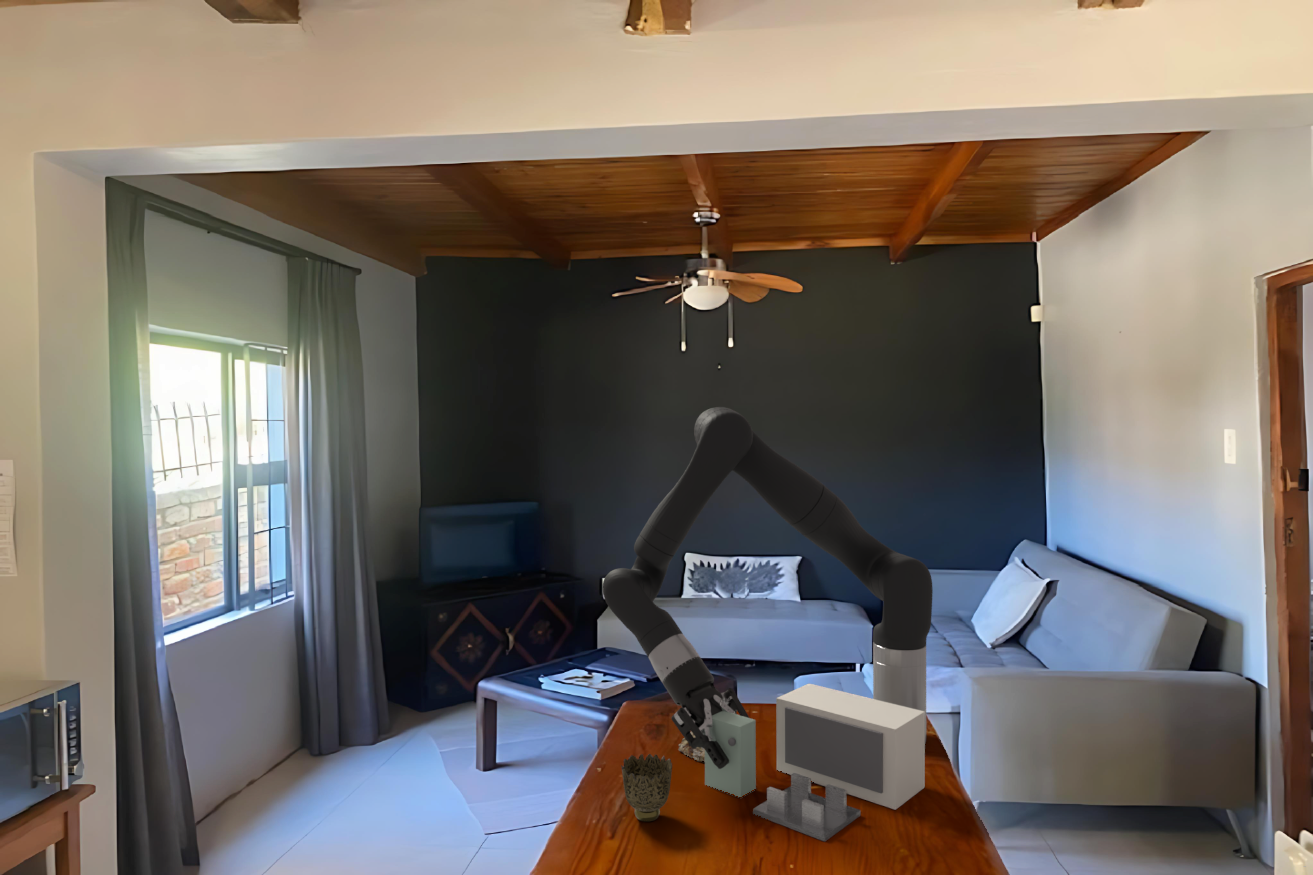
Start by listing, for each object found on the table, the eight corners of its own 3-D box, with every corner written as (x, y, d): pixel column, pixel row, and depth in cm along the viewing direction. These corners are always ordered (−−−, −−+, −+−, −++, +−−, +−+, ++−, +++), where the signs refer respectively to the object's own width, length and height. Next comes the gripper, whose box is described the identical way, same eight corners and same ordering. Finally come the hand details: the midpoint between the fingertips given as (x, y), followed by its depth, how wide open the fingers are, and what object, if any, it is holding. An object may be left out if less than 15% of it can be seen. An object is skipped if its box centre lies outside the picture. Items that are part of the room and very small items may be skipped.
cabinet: (809, 751, 145) (808, 683, 145) (924, 787, 131) (924, 711, 131) (774, 771, 137) (774, 698, 137) (893, 811, 123) (893, 730, 123)
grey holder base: (790, 791, 130) (790, 767, 130) (860, 815, 122) (860, 789, 122) (753, 814, 123) (753, 788, 123) (824, 841, 115) (824, 814, 115)
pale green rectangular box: (720, 776, 136) (720, 709, 135) (755, 789, 131) (755, 719, 131) (700, 787, 132) (700, 718, 132) (736, 800, 127) (736, 728, 127)
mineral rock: (669, 732, 149) (710, 715, 151) (675, 754, 150) (716, 737, 152) (687, 757, 139) (731, 740, 141) (694, 781, 140) (737, 763, 142)
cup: (667, 832, 118) (667, 776, 117) (616, 827, 119) (616, 772, 119) (676, 808, 125) (676, 755, 125) (628, 803, 126) (628, 751, 126)
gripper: (663, 666, 131) (723, 761, 123) (720, 646, 142) (778, 733, 134) (639, 692, 135) (696, 786, 127) (696, 671, 145) (751, 757, 138)
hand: (738, 758), depth 131 cm, fingers open, 6 cm apart
